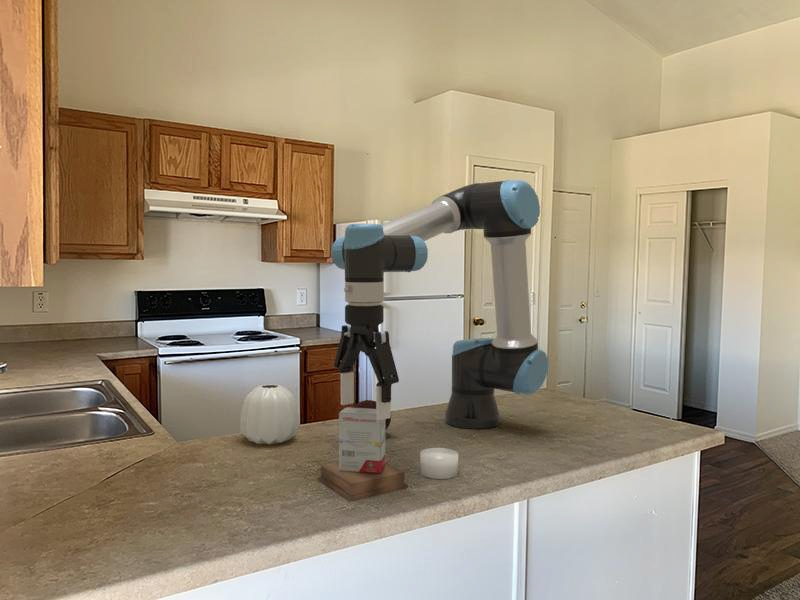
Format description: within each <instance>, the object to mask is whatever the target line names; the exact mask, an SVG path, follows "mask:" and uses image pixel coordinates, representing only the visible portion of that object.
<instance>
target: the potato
mask: <svg viewBox="0 0 800 600" xmlns="http://www.w3.org/2000/svg"><path fill="white" fill-rule="evenodd" d="M351 408H367V409H376V400H371V399H365V400H362V401H359V402H358V403H355V404H354V405H353V406H352V407H351ZM391 421H392V417H391V418H388V419H385V432H386V431H387V429H388V428H389V426H390V425H391V423H392V422H391Z"/></svg>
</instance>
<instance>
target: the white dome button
mask: <svg viewBox="0 0 800 600" xmlns="http://www.w3.org/2000/svg"><path fill="white" fill-rule="evenodd" d="M419 474H421V476H423V477H424V478H425V477H426V478H427V479H428V478H430V479H436V480H446V479H452V478H455V477H457V476H458V474H459V452H458V451H456V450H454V449H451V448H446V447H445V448H444V447H431V448H430V447H429V448H425V449H422V450H421V451H420V452H419Z"/></svg>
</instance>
